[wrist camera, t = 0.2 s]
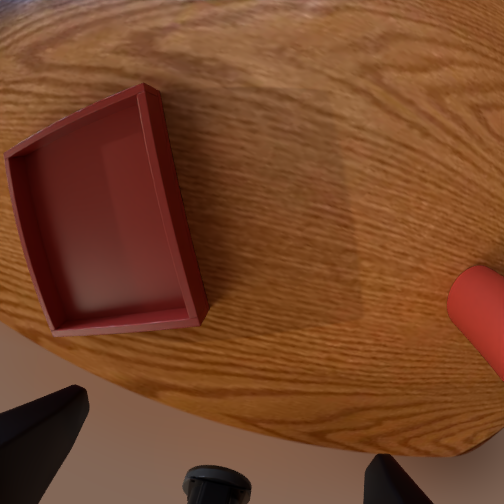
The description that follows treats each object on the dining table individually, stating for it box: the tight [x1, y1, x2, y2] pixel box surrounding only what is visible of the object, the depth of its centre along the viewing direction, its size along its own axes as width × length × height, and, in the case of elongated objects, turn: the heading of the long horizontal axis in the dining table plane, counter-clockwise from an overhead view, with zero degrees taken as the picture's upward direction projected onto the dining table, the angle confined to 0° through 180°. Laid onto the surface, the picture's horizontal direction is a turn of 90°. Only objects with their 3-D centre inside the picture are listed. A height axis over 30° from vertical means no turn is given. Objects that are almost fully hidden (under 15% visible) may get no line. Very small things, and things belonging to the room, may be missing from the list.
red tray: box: [4, 83, 210, 337], centre depth 20 cm, size 15×13×3 cm
